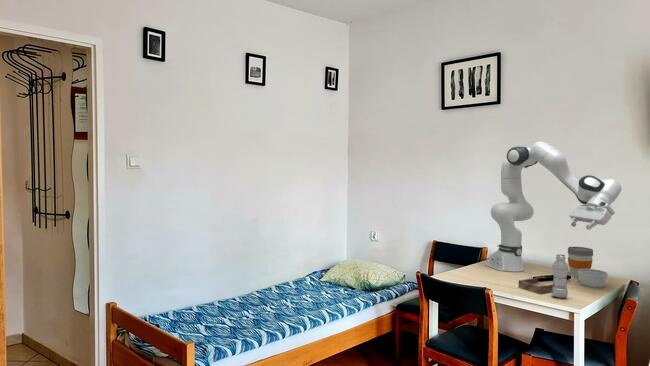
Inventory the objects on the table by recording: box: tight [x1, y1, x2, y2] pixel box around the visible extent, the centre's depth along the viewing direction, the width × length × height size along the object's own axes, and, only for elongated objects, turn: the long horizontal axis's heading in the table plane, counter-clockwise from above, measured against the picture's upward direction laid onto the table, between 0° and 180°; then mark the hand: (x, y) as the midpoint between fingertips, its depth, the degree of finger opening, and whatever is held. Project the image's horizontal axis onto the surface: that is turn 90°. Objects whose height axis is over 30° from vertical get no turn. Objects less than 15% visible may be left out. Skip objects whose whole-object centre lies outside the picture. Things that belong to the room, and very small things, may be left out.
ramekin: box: [578, 268, 609, 289], centre depth 238 cm, size 13×13×7 cm
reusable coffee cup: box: [567, 246, 594, 278], centre depth 256 cm, size 13×13×15 cm
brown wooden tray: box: [518, 277, 553, 295], centre depth 230 cm, size 13×13×4 cm
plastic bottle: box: [551, 253, 569, 299], centre depth 216 cm, size 6×7×20 cm
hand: (579, 227), depth 226 cm, fingers open, 8 cm apart
